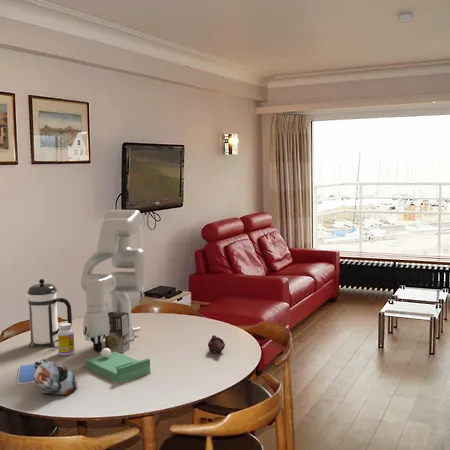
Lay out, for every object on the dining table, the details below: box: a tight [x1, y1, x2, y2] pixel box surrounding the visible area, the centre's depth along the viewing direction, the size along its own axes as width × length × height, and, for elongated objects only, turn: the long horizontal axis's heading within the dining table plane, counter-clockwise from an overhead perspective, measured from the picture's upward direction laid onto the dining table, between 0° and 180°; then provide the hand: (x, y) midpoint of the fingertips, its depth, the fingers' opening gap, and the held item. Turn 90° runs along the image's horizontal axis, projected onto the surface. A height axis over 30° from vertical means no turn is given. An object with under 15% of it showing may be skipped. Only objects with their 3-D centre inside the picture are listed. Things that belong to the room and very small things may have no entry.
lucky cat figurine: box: [34, 358, 79, 396], centre depth 200 cm, size 15×12×14 cm
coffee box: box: [104, 311, 131, 353], centre depth 245 cm, size 9×6×16 cm
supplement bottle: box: [57, 322, 75, 356], centre depth 241 cm, size 7×7×13 cm
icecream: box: [207, 335, 226, 354], centre depth 240 cm, size 7×7×15 cm
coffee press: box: [25, 278, 73, 349], centre depth 255 cm, size 17×16×30 cm
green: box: [85, 351, 151, 384], centre depth 221 cm, size 14×24×5 cm, turn 44°
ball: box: [100, 347, 112, 358], centre depth 227 cm, size 4×4×4 cm
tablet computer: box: [16, 363, 36, 386], centre depth 219 cm, size 19×13×1 cm, turn 17°
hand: (97, 351), depth 231 cm, fingers closed
